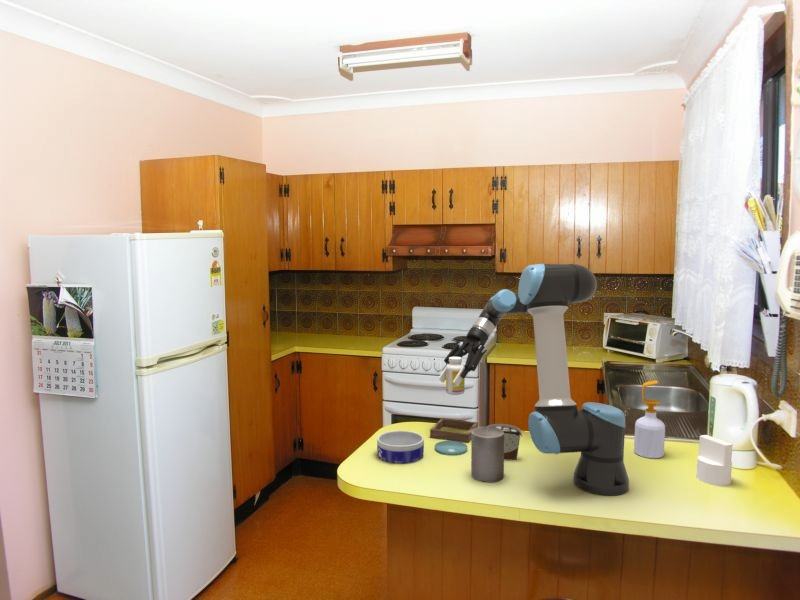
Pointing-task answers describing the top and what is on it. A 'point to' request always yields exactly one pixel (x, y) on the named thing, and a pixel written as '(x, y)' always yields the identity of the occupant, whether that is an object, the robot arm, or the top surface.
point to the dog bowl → (400, 447)
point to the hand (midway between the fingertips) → (448, 382)
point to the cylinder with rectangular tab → (714, 461)
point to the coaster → (450, 447)
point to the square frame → (449, 435)
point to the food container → (510, 440)
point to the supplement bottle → (451, 373)
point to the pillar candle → (487, 454)
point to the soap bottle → (649, 430)
